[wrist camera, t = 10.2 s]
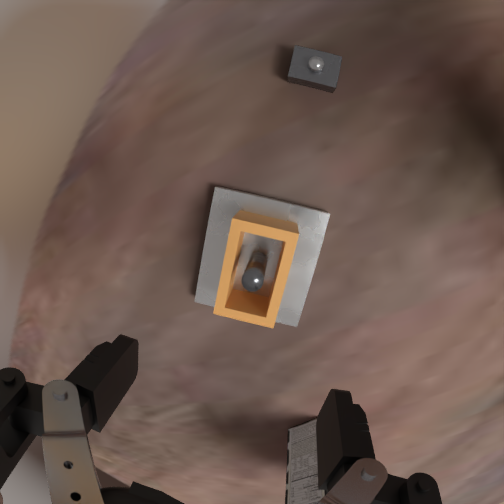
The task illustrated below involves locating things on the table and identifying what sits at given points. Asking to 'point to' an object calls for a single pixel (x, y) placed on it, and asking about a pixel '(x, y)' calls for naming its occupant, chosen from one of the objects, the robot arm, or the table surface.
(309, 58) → the grey knob block
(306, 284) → the plate
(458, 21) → the table surface
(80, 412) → the robot arm
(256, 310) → the orange link
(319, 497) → the candy bar box
